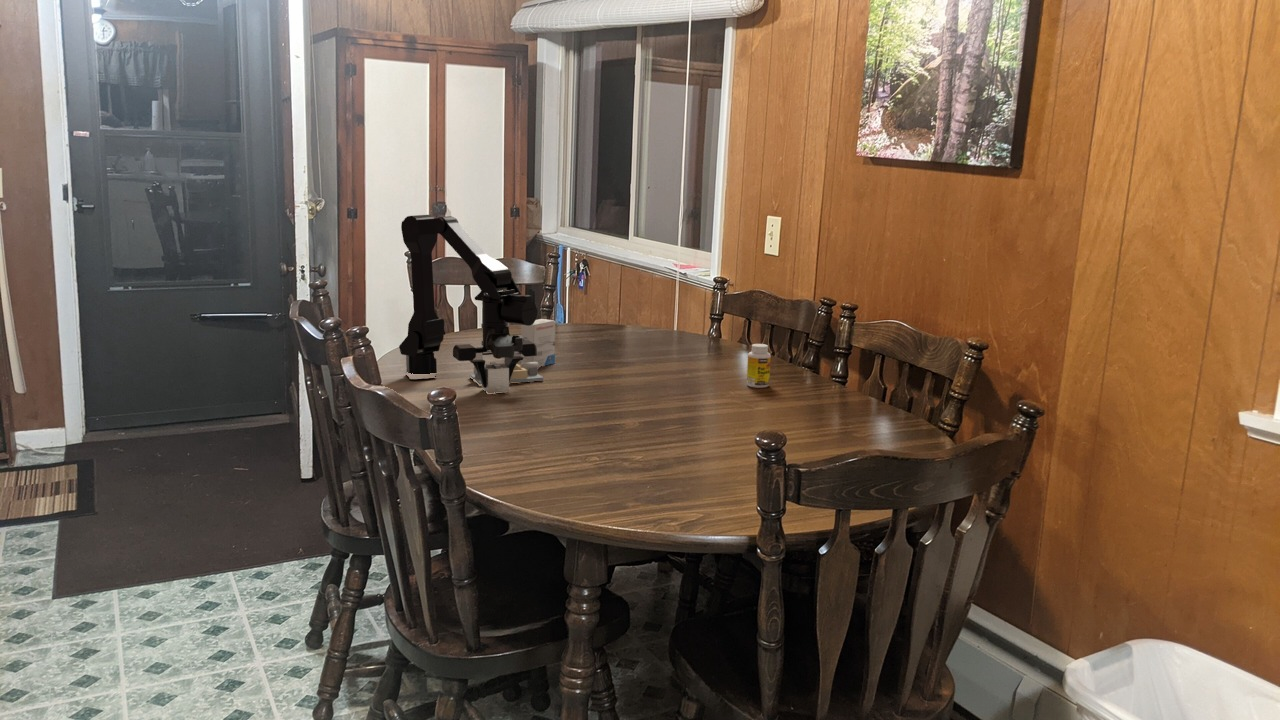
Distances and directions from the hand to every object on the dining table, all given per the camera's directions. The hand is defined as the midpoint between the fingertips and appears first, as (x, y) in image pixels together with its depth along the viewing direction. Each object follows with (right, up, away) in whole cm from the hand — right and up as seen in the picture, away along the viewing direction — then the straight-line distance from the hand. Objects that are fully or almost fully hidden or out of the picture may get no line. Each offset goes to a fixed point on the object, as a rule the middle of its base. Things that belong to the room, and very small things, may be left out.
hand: (495, 386), depth 234 cm
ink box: (+7, +5, +29) cm, 31 cm away
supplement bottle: (+63, 0, +12) cm, 64 cm away
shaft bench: (+1, +1, +12) cm, 12 cm away
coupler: (0, -1, 0) cm, 1 cm away
